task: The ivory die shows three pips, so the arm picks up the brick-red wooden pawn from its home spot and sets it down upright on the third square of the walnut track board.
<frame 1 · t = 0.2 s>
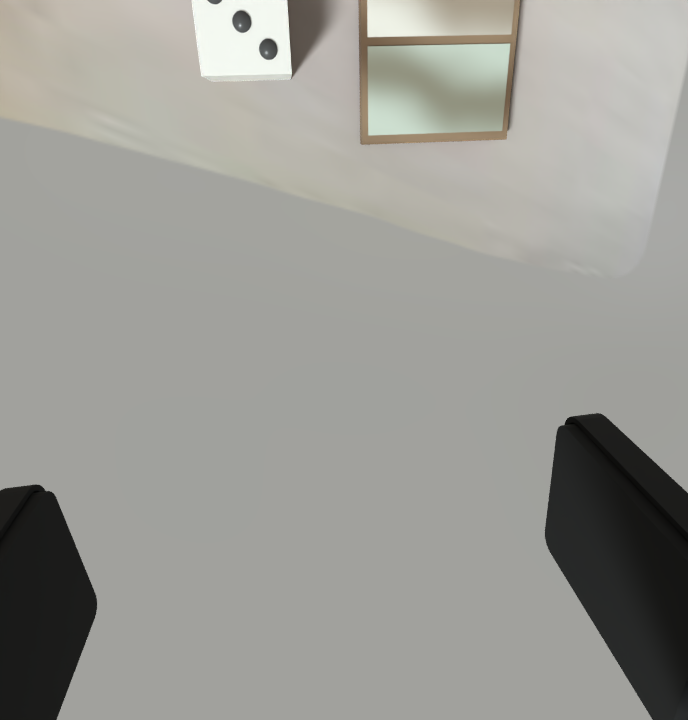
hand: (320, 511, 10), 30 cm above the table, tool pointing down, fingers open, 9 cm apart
die: (247, 35, 32), on the table
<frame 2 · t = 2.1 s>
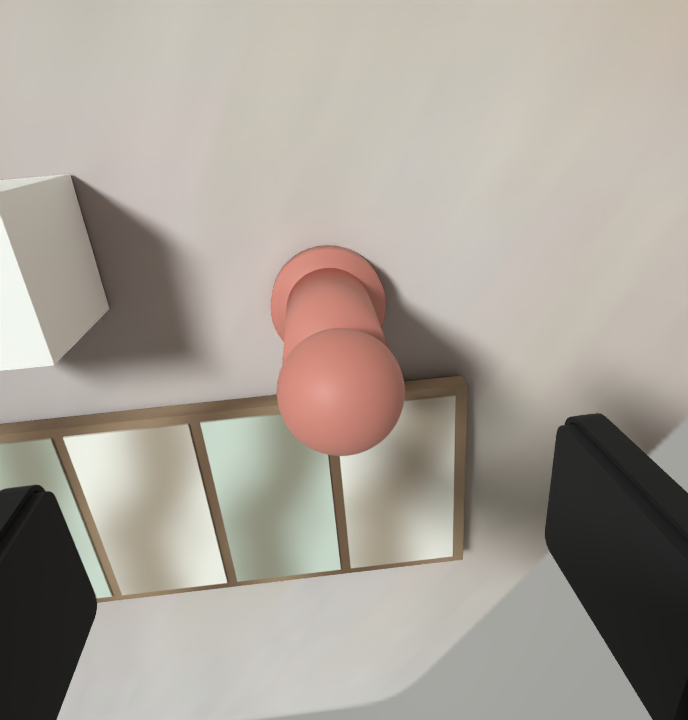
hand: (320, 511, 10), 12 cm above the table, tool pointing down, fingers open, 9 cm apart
pawn: (327, 300, 21), on the table
track board: (218, 495, 24), on the table
die: (22, 251, 19), on the table
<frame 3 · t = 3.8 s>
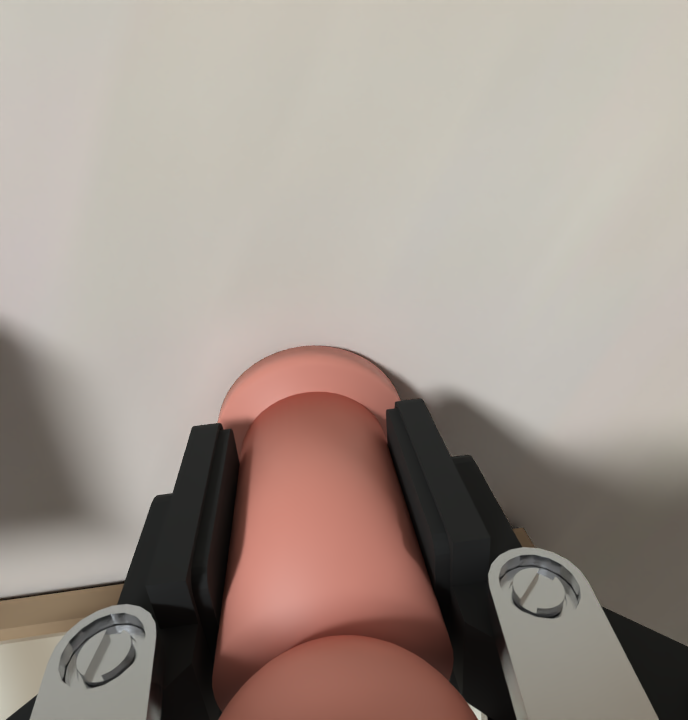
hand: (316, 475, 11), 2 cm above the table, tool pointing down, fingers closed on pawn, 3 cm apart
pawn: (312, 430, 12), on the table, touching gripper
track board: (146, 703, 16), on the table
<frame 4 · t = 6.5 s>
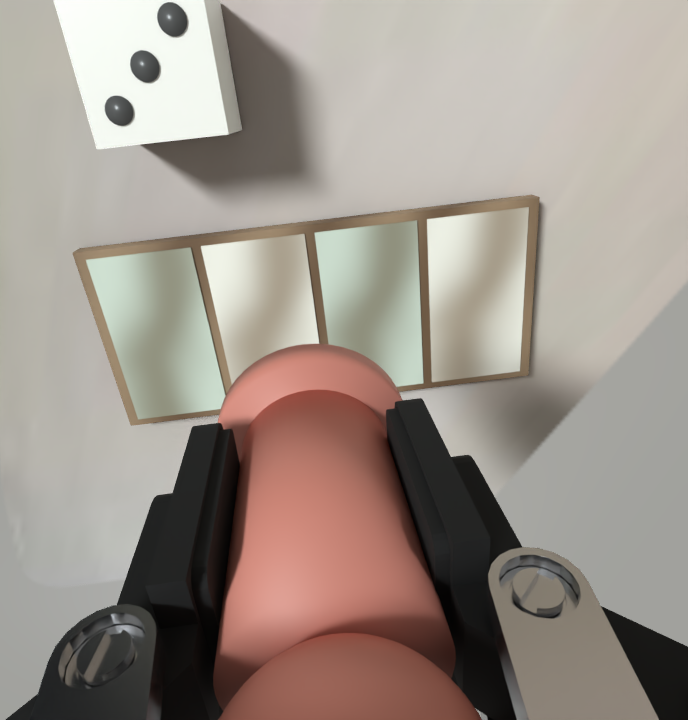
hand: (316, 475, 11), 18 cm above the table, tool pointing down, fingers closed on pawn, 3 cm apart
pawn: (313, 429, 12), point 16 cm above the table, touching gripper
track board: (320, 313, 28), on the table
die: (175, 75, 23), on the table
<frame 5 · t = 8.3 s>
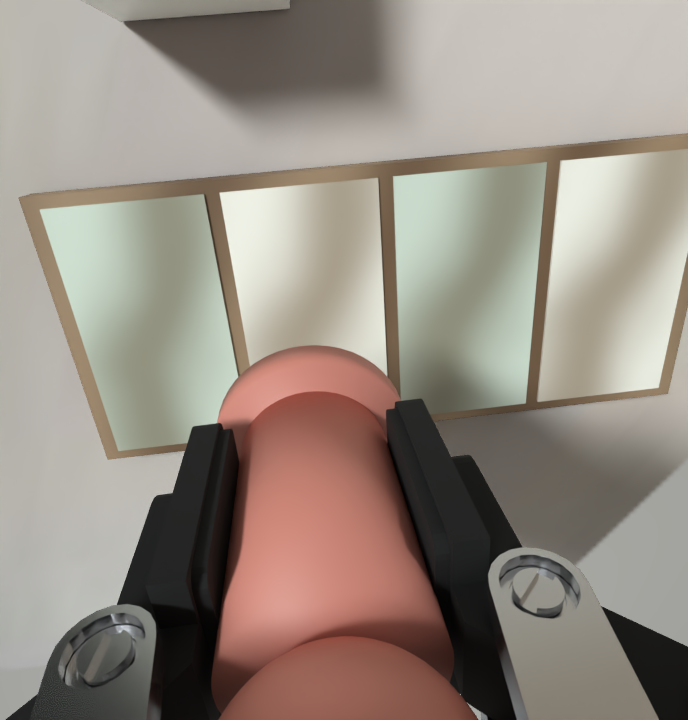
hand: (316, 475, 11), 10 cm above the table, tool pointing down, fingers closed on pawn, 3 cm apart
pawn: (312, 430, 12), point 8 cm above the table, touching gripper
track board: (386, 301, 20), on the table
when the fingers open (4 cm above the table, at t = 9.6 s): pawn drops 1 cm, resting on track board.
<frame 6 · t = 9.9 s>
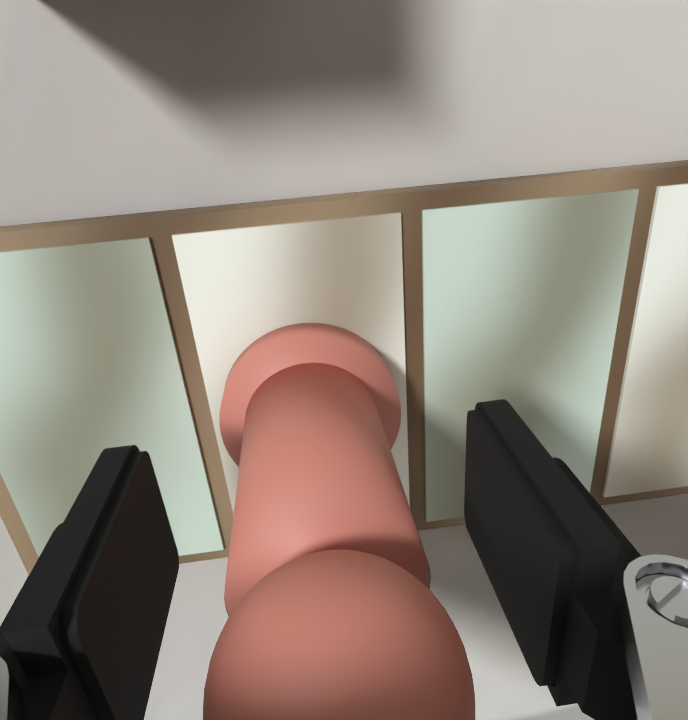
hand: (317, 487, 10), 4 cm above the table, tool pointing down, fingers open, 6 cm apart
pawn: (309, 401, 13), point 1 cm above the table, touching track board
track board: (407, 373, 14), on the table
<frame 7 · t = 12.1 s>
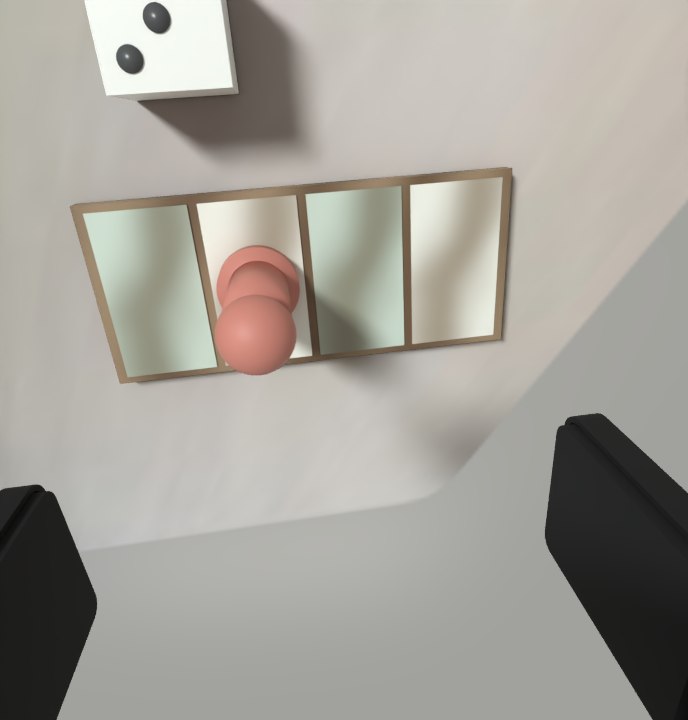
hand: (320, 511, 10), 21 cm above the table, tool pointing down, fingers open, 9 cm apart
pawn: (258, 285, 28), point 1 cm above the table, touching track board
track board: (307, 275, 30), on the table
die: (177, 37, 24), on the table
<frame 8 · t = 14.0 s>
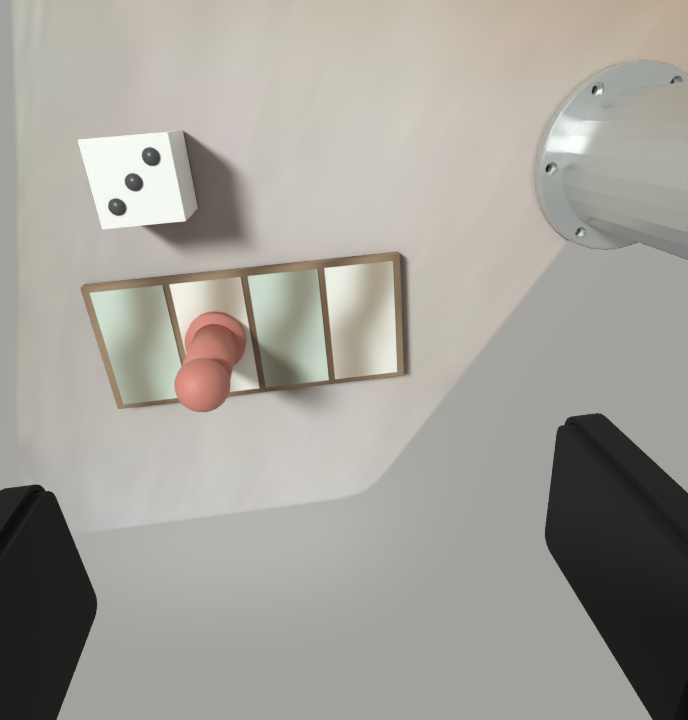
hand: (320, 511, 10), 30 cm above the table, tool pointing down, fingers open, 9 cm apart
pawn: (216, 338, 39), point 1 cm above the table, touching track board
track board: (254, 330, 40), on the table
die: (153, 173, 35), on the table
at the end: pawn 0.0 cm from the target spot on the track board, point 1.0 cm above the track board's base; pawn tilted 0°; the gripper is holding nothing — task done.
